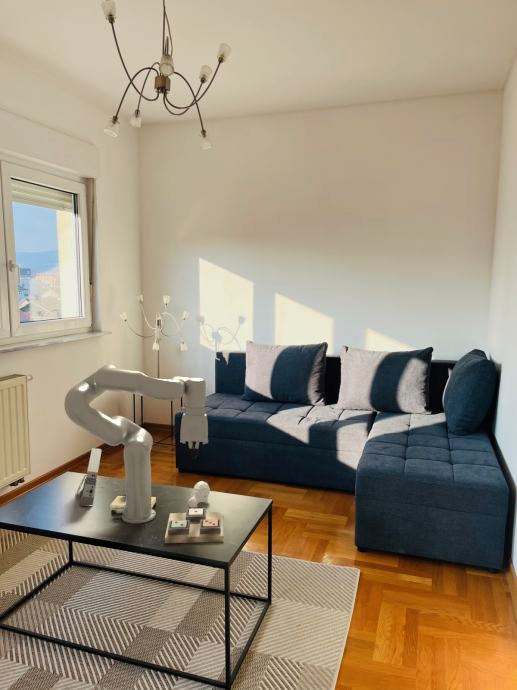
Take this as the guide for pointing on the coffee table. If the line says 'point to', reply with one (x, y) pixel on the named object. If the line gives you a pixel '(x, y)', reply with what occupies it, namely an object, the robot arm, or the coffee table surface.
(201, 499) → the white statuette
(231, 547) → the coffee table surface
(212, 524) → the tile terracotta
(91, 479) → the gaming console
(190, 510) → the tile cream
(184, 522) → the tile sage
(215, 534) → the tile board
